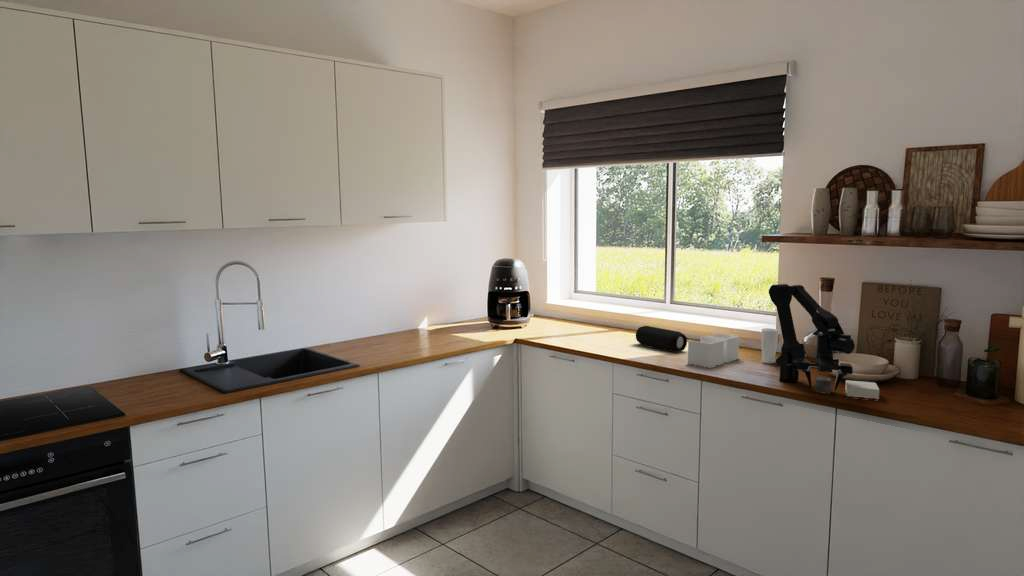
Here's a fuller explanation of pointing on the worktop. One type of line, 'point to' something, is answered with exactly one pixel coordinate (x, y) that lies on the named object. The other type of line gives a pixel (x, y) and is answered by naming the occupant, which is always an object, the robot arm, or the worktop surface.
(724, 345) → the storage container
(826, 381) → the charcoal cube
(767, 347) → the white tumbler
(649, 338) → the portable speaker
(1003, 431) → the worktop surface
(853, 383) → the cream base block
